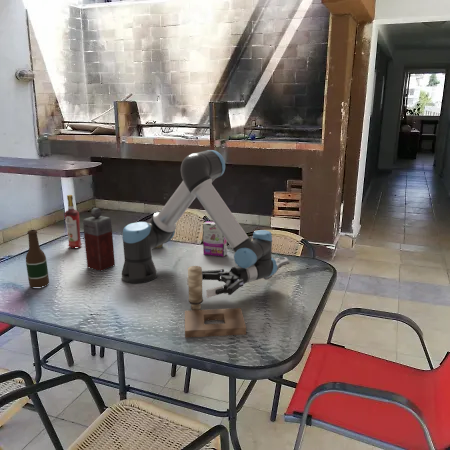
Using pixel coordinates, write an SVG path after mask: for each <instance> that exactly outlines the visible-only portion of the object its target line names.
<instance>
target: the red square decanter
mask: <svg viewBox="0 0 450 450" xmlns="http://www.w3.org/2000/svg"><path fill="white" fill-rule="evenodd" d="M90 214H91V216H90V217H86V218H84V219H82V227H83V237H84V246H85V247H84V248H85V254H86V255H85V257H86V265H87V268H88V267H90V268H93V269H92V270H94V269H96V270H95V271H98V270H100V271H99V272H102V271H101V270H103V271H105V270H107V269H109V268H108V267H110V268H111V266H112V267H114V266H116V263H115V262H116V261H115V251H114V240H113V237H114V236H113V226H112V225H113V224H112V219H111V217H109V216H104V215H102V210H101V208H99V207H93V208H92V209H91V211H90ZM113 265H114V266H113ZM90 268H89V269H90ZM106 268H107V269H106ZM104 269H105V270H104Z"/></svg>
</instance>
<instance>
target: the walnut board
mask: <svg viewBox="0 0 450 450" xmlns="http://www.w3.org/2000/svg"><path fill="white" fill-rule="evenodd" d="M242 311H243V310H242V308H241V307H235V308H234V307H233V308H215V309H214V308H212V309H211V308H210V309H200V310H191V309H190V310H184V338H203V337H204V338H205V337H222V336H223V337H225V336H241V335H242V336H244V335H245V336H246V335H247V325H246V322H245V318H244V315H243V312H242ZM208 321H223V322H222V323H208V324H207V323H206V324H205V322H208Z"/></svg>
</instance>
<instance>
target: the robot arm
mask: <svg viewBox="0 0 450 450" xmlns="http://www.w3.org/2000/svg"><path fill="white" fill-rule="evenodd" d="M225 170H226V161H225V158H224V157H223V155H222V154H221V153H220V152H219V151H217V150H215V149H214V150H213V149H207V150H203V151H199V152H193V153H190V154H188V155H187V156H185V157H184V159H183V160H182V162H181V165H180V175H181V179H182V181H181V183H180V184H179V186H178V187H177V188H176V189H175V191H174V193H172V195H171V196H170V198H169V199H168V200H167V202H166V203H165V204H164V206H163V207H162V208H161V210H160V211H157V212H155V213H153V215H152V216H151V218H150V219H149V220H148V221H147V222H146V221H137V222H131V223H128V224H127V225H125V226H124V227H123V229H122V242H123V243H122V245H123V255H124V256H123V257H124V262H123V263H124V264H123V265H122V269H121V279H122V280H123V282H125V283H130V284H142V283H147V282H151V281H153V280H156V278H157V275H158V273H157V270H158V269H157V268H156V265H155V264H154V263H155V262H154V261H153V256H152V255H153V254H152V250H153V249H156V248H155V247H157V246H159V245H161V244H163V245H164V244H167V243H168V242H170V240H172V239H173V238H174V236H175V233H176V229H177V223H178V221H179V220H180V219H181V217H182V216H183V215H184V213H185V212H186V211H187V210H188V208H189V207H190V206H191V204H192V203H193V201H194V200H195V199H196V198H197V200H198V201H199V203H200V204H201V206H202V207H203V209H204V210H205V211H206V213H207V214H208V216H209V217H210V218H211V220H212V222H214V223H215V224H216V226H217V227H218V229H219V230H220V232H221V233H222V234H223V236H224V237H225V239H226V240H227V244H229V246H230V248H232V250H233V252H234V254H233V260H234V263H235V264H236V265H235V266H233V267H231V268H230V270H228V271H225V269H224V268H221V269H211V270H202V281H203V280H204V281H217V282H223V283H224V284H223V285H218V286H216V287H212V288H209V289H208V288H207V289H206V292H205V293H206V298H207V299H208V298H212V297H215V296H218V295H221V294H227V295H228V296H231V295H233V293H235V292H236V291H237V290H238V289H240V288H241V287H244V285H245V284H249V283H252V282H254V281H258V280H261V279H264V278H266V277H269V276H270V277H272V276H273V275H275V274H276V273H277V272H278V268H277V265H276V261H275V258H273V257H272V251H273V250H272V249H273V235H272V234H273V233H272V232H271V231H269V230H265V229H259V230H255V231H253V233H252V240H251V238H250V237H249V236H248V235H247V232H246V231H245V230H244V229H243V227H242V225H241V224H240V223H239V221H238V220H237V219H236V217H235V216H234V214H233V213H232V211H231V210H230V208H229V207H228V205H227V204H226V202H225V201H224V200H223V198H222V197H221V195H220V193H219V192H218V191H217V190H216V188H215V186H214V185H213V184H212V183H213V182H214V181H215V180H216V179H218V178H220V177H222V176H223V175H224V173H225ZM270 277H269V278H270ZM186 285H187V286H188V277H186Z"/></svg>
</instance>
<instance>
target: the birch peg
mask: <svg viewBox="0 0 450 450" xmlns="http://www.w3.org/2000/svg"><path fill="white" fill-rule="evenodd" d="M202 271H203V268H202V266H200V265H192V266H189V267H188V268H187V278H188V285H187V286H188V287H187V288H188V304H190V310H202V306H201V305H202V303H203V302H204V299H203V280H202Z"/></svg>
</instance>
